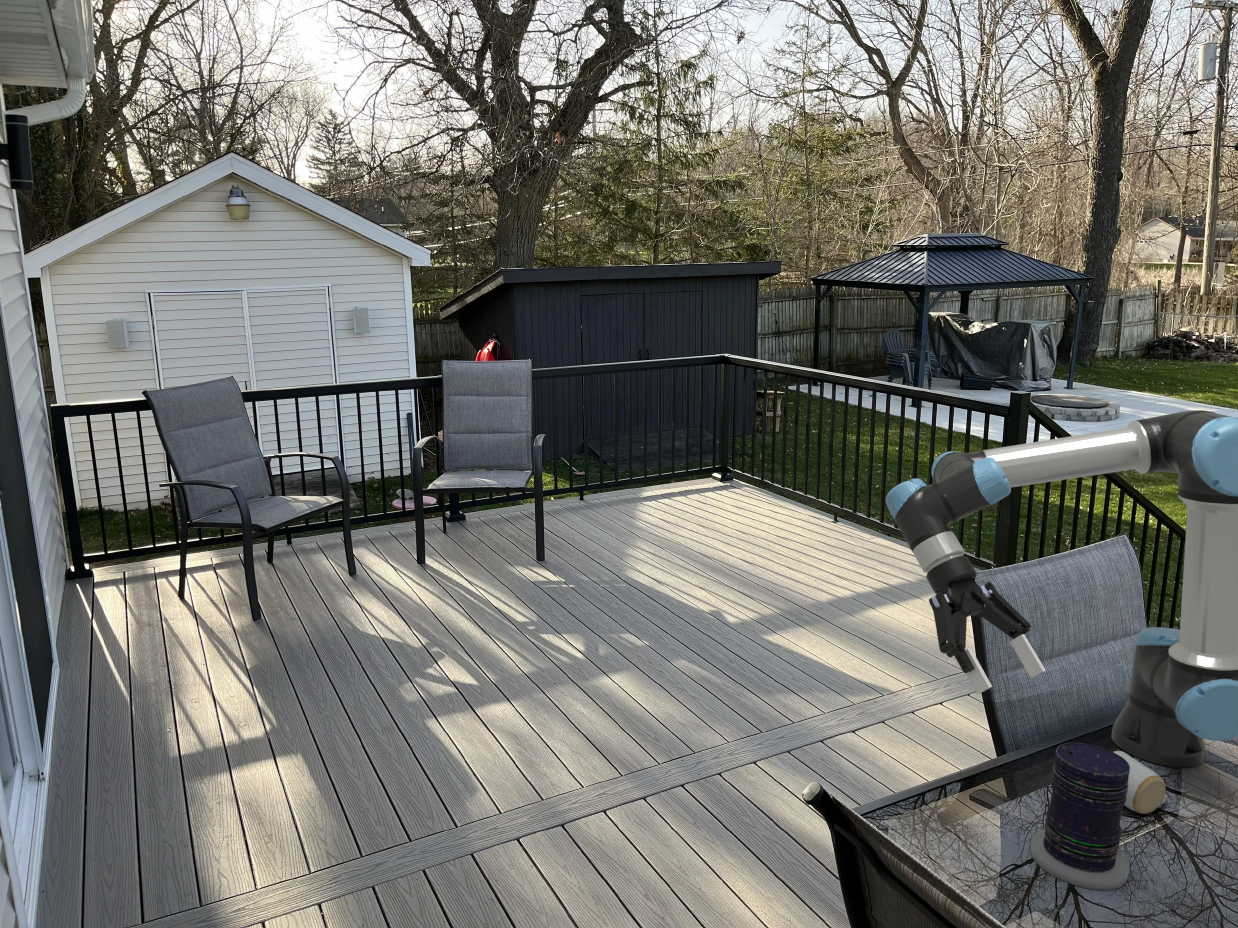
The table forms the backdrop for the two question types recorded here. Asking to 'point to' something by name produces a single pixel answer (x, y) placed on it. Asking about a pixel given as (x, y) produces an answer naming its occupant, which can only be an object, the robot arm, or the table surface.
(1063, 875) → the grey flat round disc
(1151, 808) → the ceramic mug
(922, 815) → the table surface
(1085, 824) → the navy cylinder
